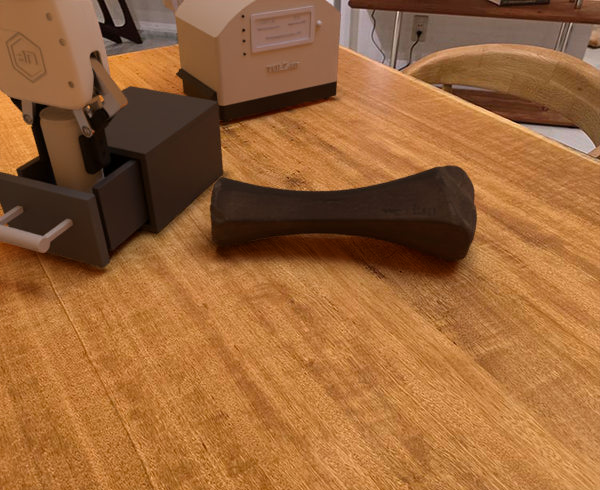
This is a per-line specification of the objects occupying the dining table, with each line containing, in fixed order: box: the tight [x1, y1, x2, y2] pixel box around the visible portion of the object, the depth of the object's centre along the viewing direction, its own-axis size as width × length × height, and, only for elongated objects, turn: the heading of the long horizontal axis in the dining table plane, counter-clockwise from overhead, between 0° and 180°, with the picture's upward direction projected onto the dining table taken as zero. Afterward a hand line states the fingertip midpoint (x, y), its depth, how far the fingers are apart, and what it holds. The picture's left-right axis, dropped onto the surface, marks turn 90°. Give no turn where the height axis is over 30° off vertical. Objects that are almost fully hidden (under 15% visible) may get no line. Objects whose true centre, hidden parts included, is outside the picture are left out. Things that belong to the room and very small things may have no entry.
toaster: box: [161, 0, 342, 124], centre depth 95 cm, size 23×25×17 cm
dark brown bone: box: [209, 164, 478, 262], centre depth 62 cm, size 11×10×28 cm
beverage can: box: [40, 106, 105, 194], centre depth 60 cm, size 5×5×12 cm
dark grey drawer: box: [0, 153, 150, 269], centre depth 62 cm, size 19×11×8 cm, turn 158°
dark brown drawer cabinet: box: [88, 85, 224, 234], centre depth 70 cm, size 16×13×10 cm
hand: (76, 161), depth 60 cm, fingers closed on beverage can, 4 cm apart
